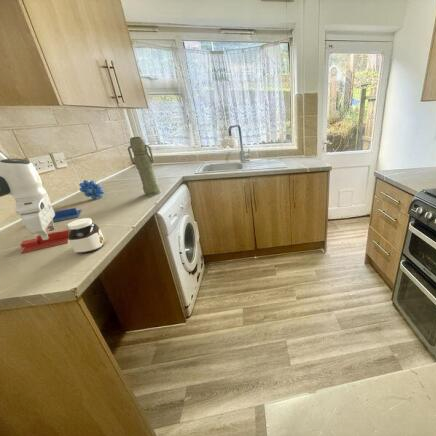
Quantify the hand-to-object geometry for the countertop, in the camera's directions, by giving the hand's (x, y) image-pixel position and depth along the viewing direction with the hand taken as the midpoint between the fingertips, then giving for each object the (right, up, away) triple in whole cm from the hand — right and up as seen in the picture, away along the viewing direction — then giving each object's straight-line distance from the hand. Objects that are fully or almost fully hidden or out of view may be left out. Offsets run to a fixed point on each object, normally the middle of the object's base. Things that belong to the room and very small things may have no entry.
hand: (49, 234), depth 98 cm
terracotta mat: (0, -3, +1) cm, 3 cm away
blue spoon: (-19, +7, +25) cm, 32 cm away
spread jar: (+20, -5, -5) cm, 21 cm away
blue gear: (-23, +18, +51) cm, 59 cm away
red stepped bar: (0, -2, +1) cm, 3 cm away
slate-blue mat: (-19, +7, +25) cm, 32 cm away
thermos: (+10, +21, +56) cm, 61 cm away
